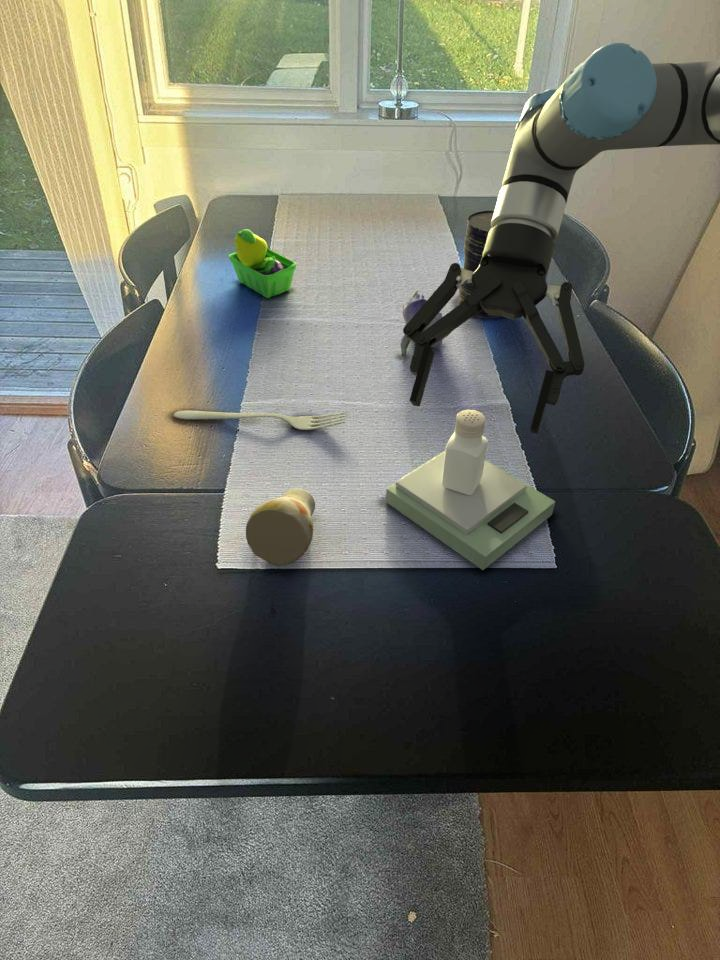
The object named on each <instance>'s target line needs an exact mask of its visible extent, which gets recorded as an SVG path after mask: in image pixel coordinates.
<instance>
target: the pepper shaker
mask: <svg viewBox="0 0 720 960" xmlns="http://www.w3.org/2000/svg"><path fill="white" fill-rule="evenodd" d="M485 423H486V416H485V415H484V414H483V412H480V411H479V410H475V409H464V410H460V411H459V412H457V414H456V418H455V426H454V432H453V433H452V435H451V436H450V438H449V439H448V441H447V443H446V445H445V450H444V451H445V459H444V468H443V476H442V486H444V487H445V488H448V489H451V490H454V491H457V492H460V493H463V494H467V495H471V494H473V493H474V491H475V489H476V488H477V486H478V484H479V482H480V480H481V479H482V475H483V469H484V463H485V460H486V456H487V451H488V444H489V440H488V438H486V436H484V433H485V431H484V430H485Z"/></svg>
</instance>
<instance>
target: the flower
mask: <svg viewBox="0 0 720 960" xmlns="http://www.w3.org/2000/svg"><path fill="white" fill-rule="evenodd" d="M427 300H428V299H426V298H425V295H424V294H421V295H420V294H419V289H415V290H414V292H413V294H412V295H411V297H410V299H409V300H408V301H407V302H405V303H404V304H403V305H402V316H403V320H404V327H405V326H406V324H407V323H408V322H409V321H410V320H411V319H412V317H413V316H414V315H415V314H416V313H417V312H418V310H419V309H420V308H421V307H422V306H423V305H424V303H425V302H426V301H427ZM443 316H444V315H443V313H442V312H439V313H438V314H437V316H436V317H435V318H434V319H433V320H432V321H431V323H430V324H429V325H428V326H427V327H426V328H425V329H424V330H426V329H427V328H428V327H430V326H431V325H432V324H434V323H435V322H437V321H438V320H439V319H441V318H442V317H443ZM451 333H452V332H450V333H449V334H448V335H446V336H445V337H444V338H442V339H441V340H440V341H438V342H437V343H435V344H434V345H433V346H431V347H432V348H435V347H439V346H441V345H442V343H443V340H444V339H446V338H447V337H449V336H450V334H451ZM410 344H411V341H409V340H408V339H407V337H406V336H405V334H404V335H403V336H402V338H401V342H400V352H401V357H403V358H404V357H407V351H408V348H409V346H410Z"/></svg>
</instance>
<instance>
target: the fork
mask: <svg viewBox="0 0 720 960" xmlns="http://www.w3.org/2000/svg"><path fill="white" fill-rule="evenodd" d="M347 414H348V411H343V412H338V413H329V414H324V415H323V414H322V415H300V416H299V415H298V416H289V415H284V414H279V413H251V412H250V413H248V412H247V413H245V412H244V413H243V412H242V413H241V412H225V411H224V412H221V411H206V410H205V411H204V410H192V409H191V410H189V409H185V410H178V411H176V412H174V413H173V417H174V418H176V419H181V420H232V419H233V420H234V419H253V418H276V419H279V420H283V421H284V422H286V423H288V424H289V425H290V426H292V427H293V428H295V429H297V430H299V431H312V430H318V429H323V428H327V427H328V428H329V427H333V426H337V425H341V424H345V423H346V420H347V418H346V417H347V416H348V415H347Z"/></svg>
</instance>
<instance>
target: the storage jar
mask: <svg viewBox="0 0 720 960" xmlns="http://www.w3.org/2000/svg"><path fill="white" fill-rule="evenodd" d="M494 211H495V210H481V211H476V212H474V213H471V214H470V215H469V216H468V217H467V221H466V225H467V226H466V231H465V232H466V233H465V234H464V245H463V253H464V259H463V267H462V268H463V269H466V270H469V271H473V272H475V271H476V269H477V268H478V267H479V265H480V262H481V258H482V255H483V251H484V248H485V244H486V240H487V237H488V233H489V231H490V230H491V229H492V226H491V222H492V218H493V214H494ZM473 292H475V290H474V288H473V285H472V283H467V284H466V285H465V286H464V287H463V288H461V289H458V300H457V306H458V305H460V304H461V303H462V302H464V300H465V299H466V298H467V297H468V296H469V295H471V294H472V293H473ZM474 317H475V318H481V319H498V318H504V316H491V315H488V313H486V312H485V311H484V310H483V311H482V312H480V313H479V314H477V315H476V316H474Z"/></svg>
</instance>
